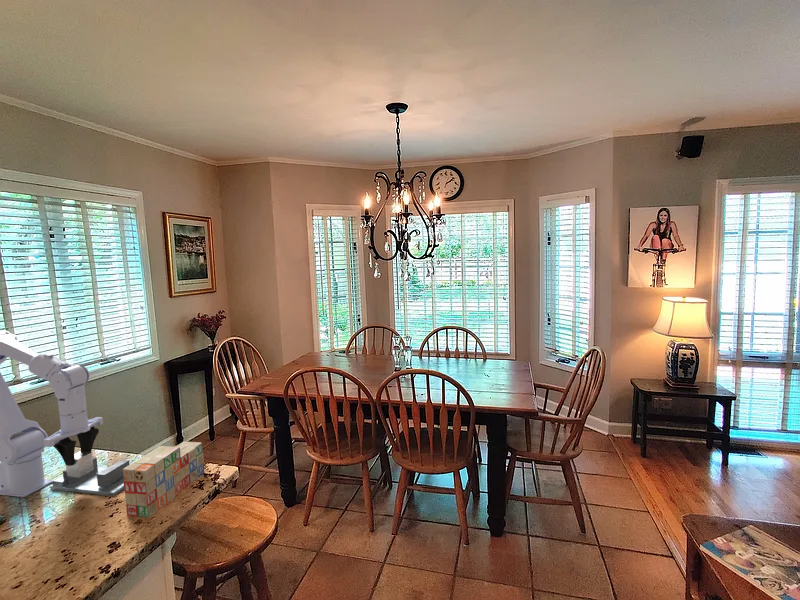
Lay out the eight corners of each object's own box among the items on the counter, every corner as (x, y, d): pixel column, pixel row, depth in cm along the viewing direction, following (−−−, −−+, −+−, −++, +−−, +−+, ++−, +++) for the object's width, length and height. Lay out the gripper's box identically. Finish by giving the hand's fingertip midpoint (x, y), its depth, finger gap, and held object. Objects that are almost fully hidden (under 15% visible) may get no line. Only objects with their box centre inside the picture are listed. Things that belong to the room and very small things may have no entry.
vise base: (50, 489, 113) (48, 472, 112) (87, 469, 123) (86, 453, 123) (113, 496, 109) (111, 479, 108) (145, 474, 120) (144, 458, 119)
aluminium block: (67, 476, 109) (65, 458, 109) (81, 468, 113) (79, 451, 112) (79, 477, 108) (77, 459, 108) (93, 469, 112) (92, 452, 112)
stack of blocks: (186, 471, 122) (183, 431, 120) (205, 472, 120) (202, 432, 119) (126, 516, 101) (121, 468, 99) (148, 518, 100) (144, 470, 98)
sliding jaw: (97, 486, 111) (96, 474, 111) (122, 471, 119) (121, 459, 119) (105, 487, 111) (104, 474, 111) (130, 471, 119) (129, 460, 118)
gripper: (57, 423, 101) (63, 476, 102) (110, 402, 115) (114, 449, 117) (34, 421, 102) (40, 473, 104) (89, 401, 117) (93, 447, 118)
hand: (78, 460), depth 110 cm, fingers closed on aluminium block, 4 cm apart
